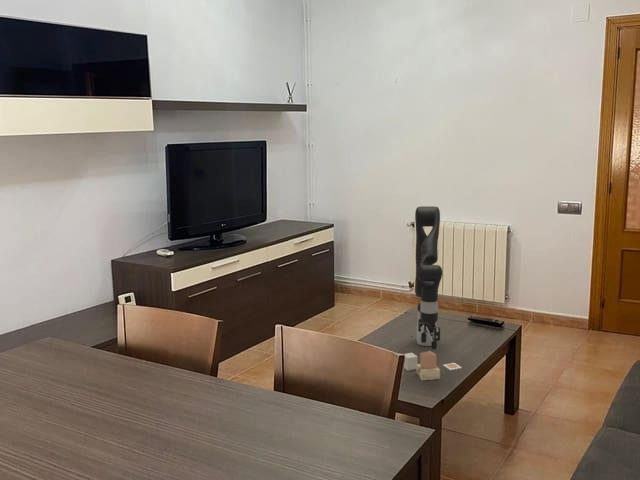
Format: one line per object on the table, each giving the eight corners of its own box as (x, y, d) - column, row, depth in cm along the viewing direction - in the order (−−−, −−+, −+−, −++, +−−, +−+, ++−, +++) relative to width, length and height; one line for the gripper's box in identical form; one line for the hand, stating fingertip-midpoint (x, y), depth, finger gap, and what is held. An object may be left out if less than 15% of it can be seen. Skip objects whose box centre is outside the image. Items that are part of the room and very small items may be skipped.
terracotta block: (420, 365, 274) (420, 352, 272) (430, 363, 275) (430, 350, 274) (426, 369, 269) (426, 356, 268) (436, 367, 271) (436, 354, 270)
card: (443, 365, 284) (443, 364, 283) (454, 363, 286) (454, 362, 286) (450, 370, 278) (450, 369, 278) (461, 368, 280) (461, 366, 280)
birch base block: (416, 373, 276) (416, 364, 275) (433, 372, 277) (433, 362, 276) (421, 380, 268) (422, 371, 268) (439, 379, 270) (439, 369, 269)
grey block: (402, 366, 283) (402, 354, 282) (411, 365, 285) (412, 352, 284) (407, 370, 279) (407, 358, 278) (417, 368, 281) (417, 356, 279)
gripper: (445, 313, 262) (445, 350, 265) (428, 304, 275) (427, 339, 278) (430, 316, 259) (429, 352, 263) (413, 306, 272) (412, 341, 276)
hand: (428, 345), depth 270 cm, fingers open, 8 cm apart
